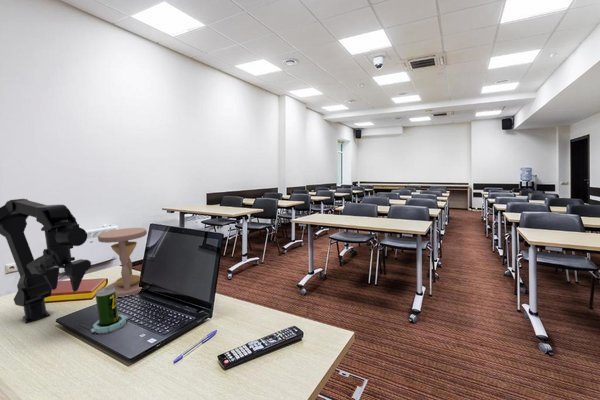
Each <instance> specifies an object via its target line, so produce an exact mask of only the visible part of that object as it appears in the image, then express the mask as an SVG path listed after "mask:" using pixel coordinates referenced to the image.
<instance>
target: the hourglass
mask: <svg viewBox="0 0 600 400" xmlns="http://www.w3.org/2000/svg"><path fill="white" fill-rule="evenodd" d="M147 234H148V231H147V229H146V228H144V227H128V228H119V229H113V230H110V231H109V230H108V231H105V232H102V233H99V234H98V235H97V241H98V242H99V243H108V244H109V243H114V244H112V245H110V247H111V250H112V251H114V252H115V253H116V254H117V255H118V257H119V258H118V259H119V261H120V264H121V272H120V274H121V277H120V278H118V279H116V281H115V282H113V283H111V284H109V285H108V286H106V287H109V286H112V287H114V289H115V292H116V297H119V296H125V295H132V294H136V295H138V294H137V293H139V292H140V291H141V289H142V287H139V280H140V277H141V276H140V275H138V274H133V263H132V259H131V255H132V253H133V252H134V250H135V248H136V247H137V244H138V242H137V241H134V240H137V239H140V238H143V237H145V236H147ZM132 240H133V241H132Z"/></svg>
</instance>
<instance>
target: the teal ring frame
mask: <svg viewBox="0 0 600 400" xmlns="http://www.w3.org/2000/svg"><path fill="white" fill-rule="evenodd" d="M118 316H119V322H118V323H116V324H113V325H111V326H106V327H100V325H99V319H98V320H96V322H95V323H94V324H92V328H90V331H91V333H94V332H96V333H107V332H111V333H113V331H114V332H116V330H117V331H119V330H120V329H122V328H124V327H125V326H124V325H126V324H127V320H129V317H128V316H127V315H124V314H118ZM96 333H94V334H96ZM107 334H108V333H107Z"/></svg>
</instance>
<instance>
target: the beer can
mask: <svg viewBox="0 0 600 400" xmlns="http://www.w3.org/2000/svg"><path fill="white" fill-rule="evenodd" d="M108 286H109V285H108ZM95 301H96V302H95V303H96V308H97V309H96V310H97V315H98V320H99V325H100V327H106V326H111V325H113V324H116V323H118V322H119V316H118V315H119V308H118V302H117V298H116V292H115V289H114V287H112V286H109V287H107V286H103V287H100V288H98V289H97V290H96V291H95Z"/></svg>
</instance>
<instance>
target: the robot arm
mask: <svg viewBox="0 0 600 400" xmlns="http://www.w3.org/2000/svg"><path fill="white" fill-rule="evenodd" d="M29 217H32V218H36V220H35V221H36V222H38V223H39V224H41V225H42V227H41V228H40V231H41V232H44V237H45V245H46V248H44V249H43V251H42V255H40V256H38V257H37V258H36V259H35V258H34V256H33V253H32V250H31V248H30V245H29V242H28V240H27V237H26V234H25V231H26V228H27V225H28V223H27V219H28V218H29ZM0 235H1V236H2V237H4V238H5V239H6V242H7V245H8V248H9V250H10V252H11V255H12V258H13V260H14V264H15V266H16V269H17V271H18V274H19V279H18V282H17V286H16V287H17V292H16V294H15V296H14V297H13V301H14V304H15V305H16V306H19V307H22V308H23V312H24V315H23V316H22V319H23V321H24V323H25V324H27V323H30V322H34V321H37V320H39V319H40V320H41V319H43V318H46V317H50V315H51V314H50V313H49V311H48V309H47V307H46V300H45V299H46V298H50V297H52V292H53V291H55V290H56V289H57V287H58V283H59V282H58V280H59V274H60V269H63V270H64V272H65V273H64V276H67V278H69V280H70V285H71V289H72V291H73V292H74V293H75V292H76V293H77V292H78V290H79V288H80V285H81V283H82V280H83V278H84V276H85V274H86V273H87V272H88V271H89V269H91V268H92V261H91V260H90V259H81V258H80V259H76V258H75V256H72V253H71V249H74V247H79V246H82V245H83V244H85V243H86V241H87V239H88V233H87V231H86V230H85V229H84V228H83V227H82V228H81V227H80V224H79V223H78V222H77V219H76V217H75V216H74V215H73V213H72V212H71V210H70V209H69V208H68V207H67V206H66V205H65V204H44V203H39V202H37V201H32V200H29V199H27V198H17V199H16V198H15V199H10V200H7V201H6V203H5V204H4V205H1V206H0Z"/></svg>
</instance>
